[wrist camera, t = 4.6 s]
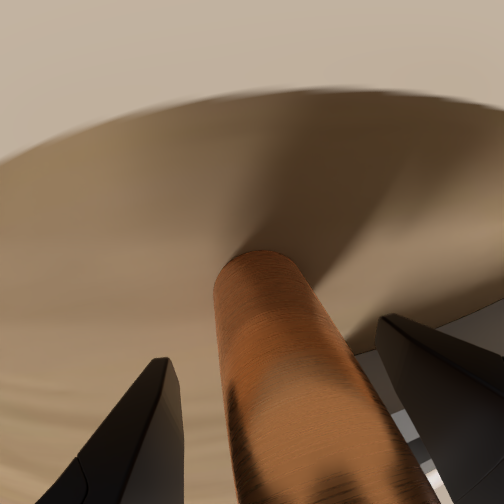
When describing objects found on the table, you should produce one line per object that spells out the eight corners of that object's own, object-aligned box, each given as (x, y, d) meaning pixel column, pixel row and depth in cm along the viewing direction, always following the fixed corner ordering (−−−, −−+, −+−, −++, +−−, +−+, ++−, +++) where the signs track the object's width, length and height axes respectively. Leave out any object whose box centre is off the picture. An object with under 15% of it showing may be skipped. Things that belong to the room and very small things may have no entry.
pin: (302, 244, 9) (501, 521, 1) (303, 321, 11) (418, 559, 2) (206, 257, 9) (248, 625, 1) (220, 335, 10) (266, 607, 2)
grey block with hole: (538, 279, 13) (570, 302, 10) (489, 395, 18) (508, 418, 15) (315, 366, 12) (345, 430, 8) (306, 476, 16) (319, 516, 13)
